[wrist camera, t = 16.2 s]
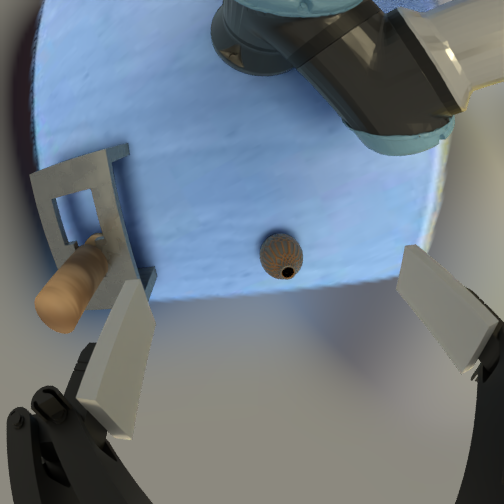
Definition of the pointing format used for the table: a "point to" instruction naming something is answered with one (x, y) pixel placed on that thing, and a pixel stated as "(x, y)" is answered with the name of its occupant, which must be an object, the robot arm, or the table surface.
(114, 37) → the table surface
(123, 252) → the keyhole plate
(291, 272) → the vase
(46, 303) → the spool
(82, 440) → the robot arm
